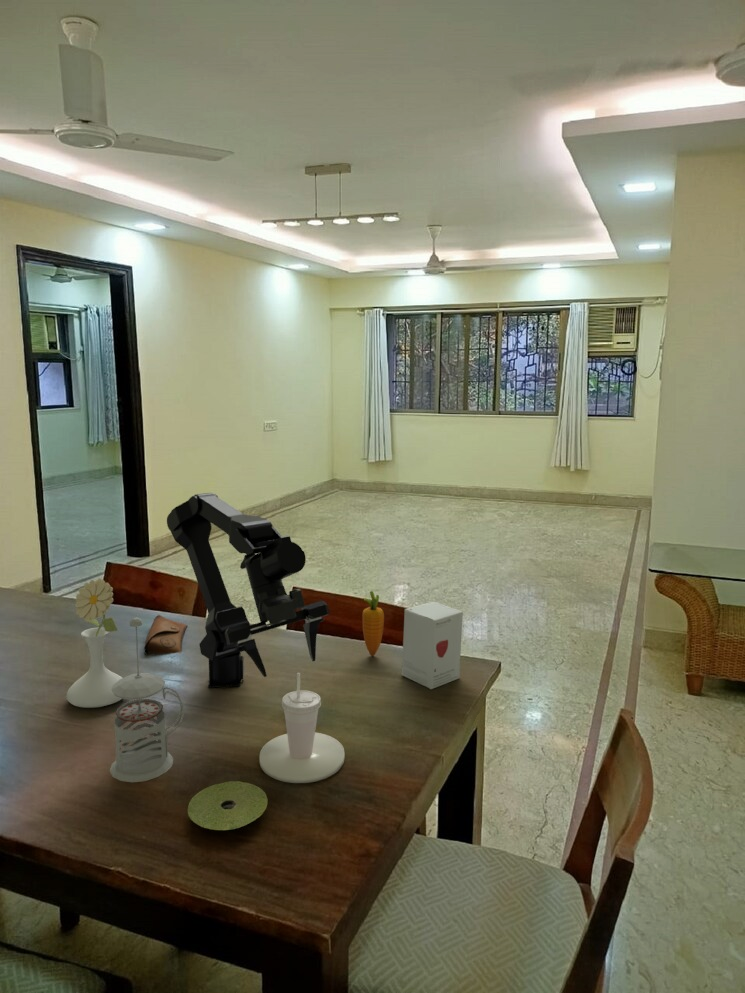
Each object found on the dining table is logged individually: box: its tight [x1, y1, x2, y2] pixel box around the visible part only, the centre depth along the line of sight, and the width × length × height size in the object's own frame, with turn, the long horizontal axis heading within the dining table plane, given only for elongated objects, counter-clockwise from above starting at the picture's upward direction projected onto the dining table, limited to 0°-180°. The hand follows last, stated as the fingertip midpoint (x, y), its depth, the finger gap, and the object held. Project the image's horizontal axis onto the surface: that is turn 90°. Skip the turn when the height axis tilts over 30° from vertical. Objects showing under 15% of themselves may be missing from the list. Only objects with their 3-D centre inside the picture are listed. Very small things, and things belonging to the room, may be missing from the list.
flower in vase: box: [65, 578, 123, 709], centre depth 131 cm, size 13×11×25 cm
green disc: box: [187, 780, 268, 831], centre depth 99 cm, size 11×11×2 cm
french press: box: [109, 616, 185, 783], centre depth 110 cm, size 10×12×25 cm
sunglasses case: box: [143, 614, 188, 656], centre depth 164 cm, size 18×7×7 cm, turn 11°
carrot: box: [361, 590, 385, 657], centre depth 155 cm, size 5×5×15 cm
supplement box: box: [401, 601, 464, 690], centre depth 145 cm, size 9×9×15 cm
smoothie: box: [281, 672, 322, 759], centre depth 113 cm, size 6×6×14 cm
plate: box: [259, 731, 346, 784], centre depth 114 cm, size 14×14×1 cm
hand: (289, 668), depth 125 cm, fingers open, 9 cm apart
